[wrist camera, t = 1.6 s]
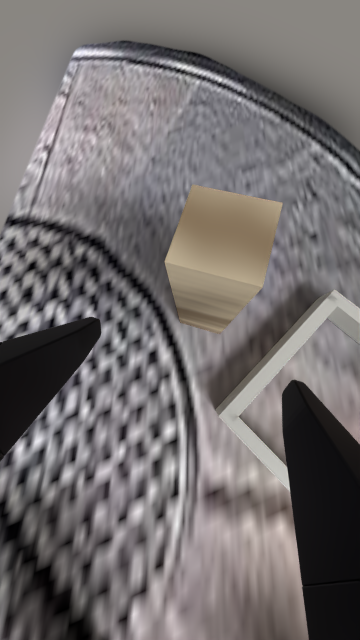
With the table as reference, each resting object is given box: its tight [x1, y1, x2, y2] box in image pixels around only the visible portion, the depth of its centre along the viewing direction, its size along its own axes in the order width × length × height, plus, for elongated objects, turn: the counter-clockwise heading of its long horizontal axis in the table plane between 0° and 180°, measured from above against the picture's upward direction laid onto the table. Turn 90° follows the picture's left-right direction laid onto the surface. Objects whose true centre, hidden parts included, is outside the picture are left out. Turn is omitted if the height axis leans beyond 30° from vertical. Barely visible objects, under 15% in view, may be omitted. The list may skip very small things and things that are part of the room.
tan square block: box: [165, 185, 283, 334], centre depth 15 cm, size 4×4×13 cm
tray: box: [215, 290, 360, 492], centre depth 17 cm, size 16×16×2 cm
